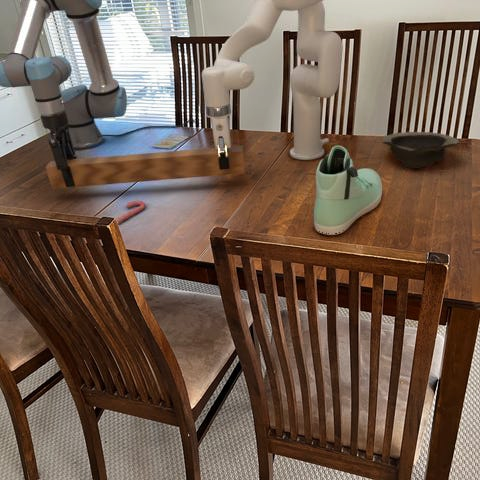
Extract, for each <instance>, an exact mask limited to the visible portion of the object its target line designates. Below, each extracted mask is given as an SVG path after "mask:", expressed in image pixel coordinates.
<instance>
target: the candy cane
mask: <svg viewBox="0 0 480 480" xmlns="http://www.w3.org/2000/svg"><path fill="white" fill-rule="evenodd" d="M135 206H137V207H135ZM132 207H135V208H134V209H132V210H130V211H128V212H126V213H125V214H122V215H121V216H120V217H118V218H116V219H115V220H117V222H118V224H117V225H119V224H121V223H122V222H124V221H125V220H127V219H129V218H131V217H132V216H134V215H136V214H137V213H139V212H141V211H143V210H145V208H146V203H145V201H143V200H132V201H129V202H128V203H127V204H126V208H127V209H130V208H132Z"/></svg>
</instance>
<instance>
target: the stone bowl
mask: <svg viewBox="0 0 480 480" xmlns="http://www.w3.org/2000/svg"><path fill="white" fill-rule="evenodd" d="M381 142H382V144H384V145H386V146H390V151H391V154H392V155H393V156H394V157H395V159H397V160H399V161H401V163H402V164H401V165H402V167H404V168H411V169H420V168H429V167H432V166H433V165H434V163H435V162H436V163H439V162H443V161H444V159H445V157H446V149H448V148H452V147H455V146H456V145H458V144H460V143H461V141H460V140H459V139H457V138H455V137H453V136H451V135H447V134H444V133H440V132H430V131H405V132H395V133H390V134H387V135H384V136H382V138H381Z"/></svg>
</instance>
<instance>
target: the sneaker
mask: <svg viewBox="0 0 480 480" xmlns="http://www.w3.org/2000/svg"><path fill="white" fill-rule="evenodd" d="M317 165H318V166H317V168H316V172H315V201H314V207H313V225H314V229H315V231H316V232H318V233H320V234H323V235H326V236H327V235H328V236H336V235H339V234H342V233H344V232H345V231H347V230H348V229H349V228H350V227H351V226H352V225H353V224H354V222H356V221H357V220H358V219H359V218H360V217H362V216H363V215H365V214H367V213H370V212H372V210H374V209H375V208H377V207H378V205H380V203H381V200H382V196H383V184H382V183H383V182H382V179H381V176H380V175H379V173H378V172H377V171H376V170H374V169H372V168H367V167H365V168H358V169H357V168H355V167H354V161H353V159H352V158H351V156H350V153H349V152H348V150H347V148H345V147H344V146H342V145H334V146H333V147H331V149H330V151H329V154H327V155H326V156H325V157H324V158H322V159H321V160H320V161H319V163H318V164H317ZM343 230H344V231H343ZM319 231H320V232H319ZM322 232H323V233H322ZM339 232H340V233H339ZM326 233H327V234H326ZM328 233H329V234H328ZM335 233H337V234H335Z"/></svg>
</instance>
